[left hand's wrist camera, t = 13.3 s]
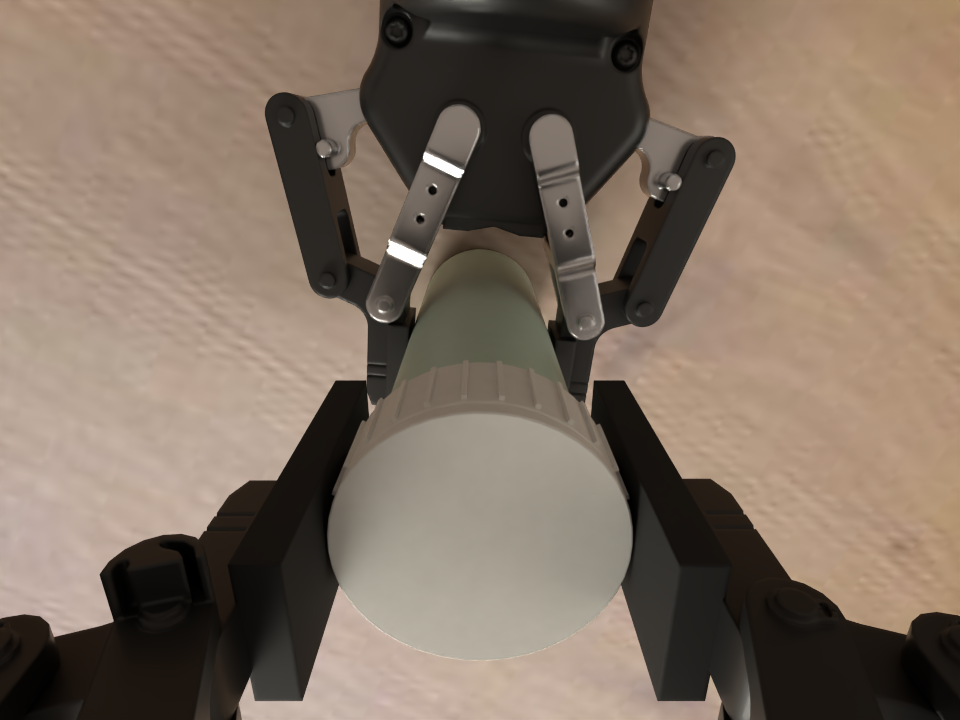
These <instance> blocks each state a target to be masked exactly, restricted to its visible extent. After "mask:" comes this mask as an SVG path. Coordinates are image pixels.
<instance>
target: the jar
mask: <svg viewBox="0 0 960 720" xmlns="http://www.w3.org/2000/svg"><path fill="white" fill-rule="evenodd" d="M464 360H468V361H469V363H474V362H482V363H496V361H502V364H504V365H511V366H515V367H518V368H522V369H525V370H528V369H529V368H532V369H534V373H536V374H538V375H541V376H543V377H545V378H547V379H549V380H551V381H552V382H554V383H557V382H560V383H562V385H563V388H564V390H566V391H567V392H568V389H567V386H566V383H565V381H564V378H563V375H562V372H561V369H560V366H559V363H558V360H557V357H556V354H555V351H554V349H553V346H552V343H551V340H550V337H549V334H548V331H547V328H546V325H545V322H544V320H543V317H542V314H541V311H540V308H539V305H538V302H537V299H536V296H535V293H534V290H533V288H532V285H531V282H530V280H529V278H528V276H527V274H526V273H525V271H524V270H523V269H522V268H521V267H520V266H519V264H517V263H516V262H515V261H514V260H512V259H511V258H509V257H508V256H506V255H504V254H502V253H499V252H496V251H492V250H486V249H475V250H468V251H464V252H461V253H459V254H456V255H454V256H453V257H451V258H449V259H448V260H447V261H445V262H444V263H443V264H442V265H441V266H440V267H439V268H438V269H437V270H436V272H435V273H434V275H433V276H432V278H431V280H430V283H429V285H428V288H427V291H426V294H425V297H424V300H423V302H422V305H421V308H420V311H419V314H418V317H417V320H416V323H415V326H414V329H413V331H412V334H411V337H410V340H409V343H408V346H407V349H406V352H405V355H404V358H403V360H402V363H401V366H400V369H399V372H398V375H397V378H396V381H395V384H394V387H393V389H392V392H393V391H394V390H396V389H397V388H399V387H400V386H401V383H402V381H403V380H405V379H406V380H407V381H409V380H411V379H413V378H415V377H417V376H420V375H422V374H424V373H426V372H429V371H430V369H431V368H432V367H435V366H436V368H437V369H438V368H441V367H446V366H450V365H455V364H462V363H463V361H464ZM392 392H391V393H392ZM568 393H569V392H568Z"/></svg>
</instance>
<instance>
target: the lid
mask: <svg viewBox="0 0 960 720" xmlns="http://www.w3.org/2000/svg"><path fill="white" fill-rule="evenodd" d="M332 495H333V496H335V497H334V499H333V502H332V506H331V510H330V514H329V517H328V528H327V543H328V552H329V557H330V561H331V565H332V569H333V571H334V574H335V576H336V579H337V581H338V583H339V585H340V587H341V588H342V590H343V592H344V593H345V595H346V597H347V598H348V599H349V601H350V602H351V603H352V604H353V606H354V607H355V608H356V610H357V611H358V612H359V613H360V614H362V615H363V616H364V617H365V618H366V619H367V620H368V621H369V622H370V623H371V624H373V625H374V626H375V627H376V628H378V629H379V630H380V631H382V632H383V633H385V634H387V635H388V636H390V637H392V638H393V639H395V640H397V641H399V642H401V643H403V644H405V645H407V646H410V647H412V648H414V649H417V650H420V651H423V652H426V653H429V654H433V655H437V656H442V657H446V658H453V659H461V660H478V661H486V660H501V659H508V658H514V657H520V656H523V655H527V654H531V653H534V652H538V651H540V650H543V649H546V648H548V647H551V646H553V645H555V644H557V643H559V642H561V641H563V640H565V639H567V638H569V637H571V636H572V635H574V634H575V633H577V632H578V631H580V630H581V629H583V628H584V627H585V626H587V625H588V624H589V623H590V622H591V621H592V620H594V619H595V618H596V617H597V616H598V615H599V614H600V613H601V612H602V611H603V609H604V608H605V607H606V606H607V605H608V604H609V602H610V601H611V600H612V598H613V597H614V595H615V594H616V592H617V591H618V589H619V587H620V585H621V583H622V581H623V579H624V577H625V575H626V572H627V569H628V566H629V563H630V559H631V553H632V547H633V524H632V517H631V511H630V508H629V505H628V502H627V500H628V499H629V494H628V492H627V490H626V487H625V485H624V482H623V480H622V477H621V475H620V473H619V468H618V466H617V463H616V461H615V458H614V456H613V454H612V451H611V449H610V446H609V444H608V442H607V439H606V437H605V434H604V432H603V429H602V427H601V425H600V424H598V425H596V424H595V422H594V421H593V419H592V418H591V416H590V415H589V412H588V410H587V407H586V405H585V403H584V402H583V401H581V402H578V401H577V400H576V399H575V398H574V397H573V396H572V395H571V394H569V393H568V392H567V391H566V390H564V388H563V385H562V383H560V382H557V383H554V382H552V381H551V380H549V379H547V378H545V377H543V376H541V375H538V374H536V373H534V369H532V368H529V369H528V370H525V369H522V368H518V367H515V366H511V365H504V364H502V361H496V363H482V362H474V363H469V361H468V360H464V361H463V363H462V364H455V365H450V366H446V367H441V368H438V369H437V368H436V366H435V367H432V368H431V369H430V371H429V372H426V373H424V374H422V375H420V376H417V377H415V378H413V379H411V380H409V381H407V380H406V379H405V380H403V381H402V383H401V386H400V387H399V388H397V389H396V390H394V391H393V392H392V393H391V394H390V395H389V396H387V397H386V398H385V399H382V398H380V399H379V400H378V402H377V405H376V407H375V410H374V411H373V412H372V414H371V415H370V417H369V418H368V420H367V421H366V422H365V421H362V422H361V424H360V426H359V429H358V431H357V434H356V436H355V438H354V441H353V443H352V446H351V448H350V450H349V453H348V455H347V457H346V460H345V462H344V465H343V467H342V469H341V472H340V474H339V477H338V479H337V482H336V484H335V486H334V489H333V491H332Z"/></svg>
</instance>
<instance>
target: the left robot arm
mask: <svg viewBox="0 0 960 720" xmlns="http://www.w3.org/2000/svg"><path fill="white" fill-rule="evenodd" d="M368 418H369V410H368V398H367V385H366V381H335V383H334V384H333V386H332V388H331V390H330V391H329V393H328V395H327V396H326V398H325V400H324V401H323V403H322V405H321V407H320V408H319V410H318V412H317V413H316V415H315V417H314V418H313V420H312V422H311V424H310V425H309V427H308V429H307V430H306V432H305V434H304V435H303V437H302V439H301V441H300V442H299V444H298V446H297V447H296V449H295V451H294V452H293V454H292V456H291V458H290V459H289V461H288V463H287V464H286V466H285V468H284V469H283V471H282V473H281V475H280V476H279V478H278V480H277V481H249V482H247V483H246V484H244V485H243V486H242V487H240V488H239V489H238V490H236V491H235V492H233V493H232V494H231V495H229V497H228V498H227V499H226V501H225V502H224V504H223V505H222V507H221V508H220V509H219V511H218V512H217V516H215V517H214V518H213V520H212V521H211V522H210V524H209V525H208V527H207V531H204V532H203V534H202V535H201V537H200V538H199V540H198V539H197V538H196V537H192V536H188V535H184V534H173V535H162V536H158V537H154V538H151V539H147V540H144V541H141V542H139V543H137V544H135V545H133V546H131V547H129V548H127V549H125V550H123V551H122V552H121V553H120V554H118V555H117V556H116V557H114V558H113V559H112V560H110V561H109V562H108V564H107V565H106V566H105V568H104V569H103V570H102V572H101V573H100V577H101V581H102V584H103V587H104V590H105V594H106V597H107V600H108V603H109V607H110V610H111V613H112V616H113V620H114V622H112V623H109V624H106V625H103V626H99V627H95V628H91V629H86V630H82V631H78V632H74V633H70V634H65V635H61V636H57V637H54V636H53V634H52V631H51V628H50V625H49V623H47V622H46V621H45V620H44V619H42V618H41V617H40V616H32V615H25V614H24V615H18V616H12V617H5V618H2V619H0V720H242V719H241V712H240V707H239V701H240V699H241V696H242V694H243V692H244V689H245V687H246V685H247V682H248V680H249V678H250V679H251V684H252V689H253V693H254V698H255V701H302V700H303V697H304V694H305V691H306V688H307V685H308V681H309V678H310V675H311V672H312V669H313V665H314V662H315V659H316V656H317V653H318V649H319V646H320V643H321V640H322V637H323V634H324V630H325V627H326V624H327V621H328V618H329V614H330V611H331V608H332V605H333V602H334V599H335V595H336V592H337V589H338V586H339V583H338V581H337V579H336V576H335V574H334V571H333V569H332V565H331V561H330V557H329V552H328V543H327V528H328V517H329V514H330V510H331V506H332V502H333V499H334V497H335V496H333V495H332V491H333V489H334V486H335V484H336V482H337V479H338V477H339V474H340V472H341V469H342V467H343V465H344V462H345V460H346V457H347V455H348V453H349V450H350V448H351V446H352V443H353V441H354V438H355V436H356V434H357V431H358V429H359V426H360V424H361V422H362V421H365V422H366V421H367V420H368ZM591 418H592V419H593V421H594V422H595V424H596V425H598V424H600V425H601V427H602V429H603V432H604V434H605V437H606V439H607V442H608V444H609V446H610V449H611V451H612V454H613V456H614V458H615V461H616V463H617V466H618V468H619V473H620V475H621V477H622V480H623V482H624V485H625V487H626V490H627V492H628V494H629V499H628V500H627V502H628V505H629V508H630V511H631V517H632V524H633V547H632V553H631V559H630V563H629V566H628V569H627V572H626V575H625V577H624V579H623V581H622V583H621V586H622V589H623V592H624V595H625V599H626V602H627V605H628V608H629V611H630V614H631V618H632V621H633V624H634V627H635V630H636V634H637V637H638V640H639V643H640V646H641V649H642V653H643V656H644V659H645V662H646V665H647V669H648V672H649V675H650V678H651V681H652V684H653V688H654V691H655V694H656V697H657V700H658V701H705V698H706V693H707V689H708V684H709V679H710V675H711V677H712V679H713V682H714V684H715V686H716V689H717V691H718V693H719V696H720V698H721V701H722V703H721V707H720V712H719V716H718V720H960V616H958V615H952V614H946V613H939V612H933V613H926V614H920V615H919V616H918V617H917V618H916V619H914V620H913V621H912V623H911V625H910V628H909V631H908V634H907V635H905V634H901V633H896V632H892V631H888V630H884V629H879V628H875V627H871V626H867V625H863V624H859V623H856V622H852V621H849V620H846V619H845V617H844V616H843V614H842V613H841V611H840V610H839V608H838V606H837V605H835V604H834V603H833V602H832V601H831V600H830V599H828V598H827V597H826V596H825V595H824V594H823V593H821V592H819V591H817V590H815V589H813V588H811V587H810V586H808V585H806V584H804V583H800V582H797V581H794V580H791V578H790V577H789V576H788V574H787V573H786V571H785V570H784V568H783V567H782V566H781V564H780V563H779V561H778V560H777V558H776V557H775V556H774V554H773V553H772V551H771V550H770V548H769V547H768V546H767V544H766V543H765V541H764V540H763V538H762V537H761V536H760V534H759V533H758V531H757V530H756V529H754V528H753V524H752V523H751V521H750V520H749V519H748V517H747V516H746V515H744V514H743V510H742V509H741V507H740V506H739V504H738V503H737V501H736V500H735V499H734V497H733V496H732V494H731V493H729V492H728V491H727V490H725V489H724V488H723V487H721V486H720V485H718V484H717V483H716V482H714V481H713V480H711V479H682V478H681V476H680V475H679V473H678V471H677V469H676V468H675V466H674V464H673V463H672V461H671V459H670V458H669V456H668V454H667V452H666V451H665V449H664V447H663V446H662V444H661V442H660V441H659V439H658V437H657V435H656V434H655V432H654V430H653V429H652V427H651V425H650V424H649V422H648V420H647V418H646V417H645V415H644V413H643V412H642V410H641V408H640V407H639V405H638V403H637V401H636V400H635V398H634V396H633V395H632V393H631V391H630V390H629V388H628V386H627V384H626V383H625V381H594V386H593V398H592V411H591Z"/></svg>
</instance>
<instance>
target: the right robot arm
mask: <svg viewBox="0 0 960 720" xmlns="http://www.w3.org/2000/svg"><path fill="white" fill-rule="evenodd" d="M652 4H653V0H380V20H379V37H378V44H377V47H376V51H375V54H374V57H373V59H372V62H371V64H370V66H369V67H368V69H367V71H366V73H365V74H364V76H363V79H362V82H361V85H360V88H359V89H353V90H347V91H341V92H335V93H329V94H323V95H318V96H312V97H304V96H300V95H295V94H291V93H285V92H282V93H278V94H275V95H274V96H272V97H271V98H270V99H269V101H268V102H267V104H266V108H265V117H266V122H267V125H268V129H269V133H270V137H271V140H272V144H273V148H274V152H275V155H276V159H277V163H278V167H279V170H280V174H281V178H282V182H283V185H284V189H285V193H286V197H287V200H288V204H289V208H290V212H291V215H292V219H293V223H294V227H295V230H296V234H297V238H298V242H299V245H300V249H301V253H302V257H303V260H304V264H305V268H306V272H307V275H308V279H309V283H310V286H311V287H312V289H313V290H314V292H315V293H317V294H318V295H319V296H321V297H324V298H336V297H337V298H339V299H342V300H344V301H346V302H348V303H351V304H353V305H355V306H356V307H358V308H359V309H360V310H361V311H362V312H363V313H364V315H365V317H366V319H367V322H368V356H367V363H368V365H367V393H368V395H369V398H370V400H371V403H372V405H377V402H378V400H379V399H380V398H382V399H385V398H386V397H387V396H389V395H390V394H391V392H392V389H393V387H394V384H395V381H396V378H397V375H398V372H399V369H400V366H401V363H402V360H403V358H404V355H405V352H406V349H407V346H408V343H409V340H410V337H411V334H412V331H413V329H414V326H415V316H416V308H412V307H410V294H411V292H412V290H413V287H414V285H415V283H416V280H417V278H418V276H419V274H420V271H421V269H422V267H423V264H424V262H425V260H426V258H427V255H428V253H429V251H430V248H431V246H432V244H433V242H434V239H435V237H436V235H437V232H438V230H439V228H440V226H441V224H442V225H443V229H452V230H463V231H471V230H476V229H482V228H488V227H497V228H500V229H503V230H505V231H508V232H511V233H513V234H516V235H519V236H528V237H538V238H542V240H543V245H544V249H545V253H546V256H547V260H548V264H549V268H550V272H551V277H552V282H553V286H554V291H555V295H556V300H557V304H558V308H557V314H556V321H553V320H549V322H548V330H547V331H548V334H549V337H550V340H551V343H552V346H553V349H554V351H555V354H556V357H557V360H558V363H559V366H560V369H561V372H562V375H563V378H564V381H565V383H566V386H567V389H568V392H569V394H571V395H572V396H573V397H574V398H575V399H576V400H577V401H578V402H581V401H583V402H584V403H585V399H586V393H587V388H588V382H589V376H590V371H591V365H592V359H593V354H594V348H595V344H596V342H597V340H598V338H599V337H600V336H601V335H602V334H603V333H604V332H606V331H607V330H610V329H612V328H616V327H620V326H624V325H628V324H633V325H635V326H638V327H647V326H650V325H652V324H654V323H655V322H656V321H657V320H658V319H659V318H660V316H661V315H662V313H663V310H664V308H665V306H666V304H667V302H668V300H669V298H670V296H671V294H672V292H673V290H674V288H675V286H676V284H677V281H678V279H679V277H680V275H681V273H682V271H683V269H684V267H685V265H686V263H687V261H688V259H689V257H690V255H691V253H692V250H693V248H694V246H695V244H696V242H697V240H698V238H699V236H700V234H701V232H702V230H703V228H704V226H705V224H706V221H707V219H708V217H709V215H710V213H711V211H712V209H713V207H714V205H715V203H716V201H717V199H718V197H719V195H720V192H721V190H722V188H723V186H724V184H725V182H726V180H727V178H728V176H729V174H730V172H731V170H732V168H733V165H734V163H735V156H736V155H735V149H734V147H733V145H732V144H731V143H730V142H729V141H728V140H727V139H725V138H721V137H713V136H695V135H693V134H690V133H688V132H685V131H683V130H680V129H678V128H675V127H672V126H670V125H667V124H665V123H662V122H660V121H657V120H655V119H652V118H650V109H649V104H648V101H647V98H646V95H645V92H644V88H643V82H642V60H643V54H644V49H645V44H646V38H647V32H648V27H649V21H650V15H651V9H652ZM365 124H368V125H369V127H370V129H371V130H372V132H373V133H374V135H375V137H376V138H377V140H378V142H379V143H380V145H381V146H382V148H383V150H384V151H385V153H386V155H387V156H388V158H389V159H390V161H391V163H392V164H393V166H394V168H395V169H396V171H397V172H398V174H399V176H400V177H401V179H402V181H403V182H404V184H405V185H406V187H407V189H408V190H409V193H408V195H407V198H406V200H405V203H404V205H403V207H402V210H401V212H400V215H399V217H398V220H397V222H396V225H395V227H394V229H393V232H392V234H391V237H390V239H389V242H388V245H387V249H386V252H385V255H384V257H383V260H382V262H381V264H380V265H378V264H376V263H374V262H372V261H369V260H367V259H365V258H363V257H361V255H360V251H359V247H358V242H357V238H356V234H355V229H354V225H353V220H352V216H351V212H350V207H349V203H348V199H347V194H346V190H345V186H344V181H343V177H342V172H341V167H345V166H347V165H348V164H350V163H351V162H352V160H353V158H354V156H355V152H356V147H355V139H356V135H357V133H358V131H359V129H360V128H361V127H362V126H364V125H365ZM635 151H636V152H637V153H638V155H639V156H640V159H641V162H642V171H641V174H640V179H639V183H640V187H641V190H642V191H643V193H644V194H645V195H647V196H649V199H648V201H647V203H646V206H645V208H644V210H643V213H642V215H641V217H640V219H639V222H638V224H637V226H636V228H635V231H634V233H633V235H632V238H631V240H630V242H629V244H628V247H627V249H626V251H625V253H624V256H623V258H622V260H621V263H620V265H619V267H618V269H617V272H616V274H615V276H614V278H613V280H611V281H607V282H603V283H599V284H598V283H597V277H596V272H595V266H596V261H595V254H594V249H593V243H592V238H591V233H590V227H589V222H588V217H587V212H586V206H585V205H586V204H587V203H588V202H589V201H590V200H591V199H592V197H593V196H594V195H595V194H596V193H597V192H598V191H599V190H600V189H601V188H602V187H603V185H604V184H605V183H606V182H607V181H608V180H609V179H610V178H611V177H612V176H613V175H614V173H615V172H616V171H617V170H618V169H619V168H620V167H621V166H622V165H623V164H624V163H625V161H626V160H627V159H628V158H629V157H630V156H631V155H632V154H633V153H634V152H635Z"/></svg>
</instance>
